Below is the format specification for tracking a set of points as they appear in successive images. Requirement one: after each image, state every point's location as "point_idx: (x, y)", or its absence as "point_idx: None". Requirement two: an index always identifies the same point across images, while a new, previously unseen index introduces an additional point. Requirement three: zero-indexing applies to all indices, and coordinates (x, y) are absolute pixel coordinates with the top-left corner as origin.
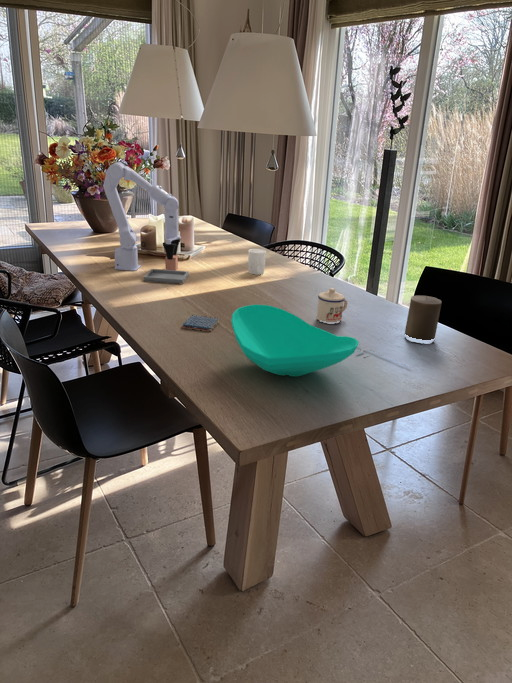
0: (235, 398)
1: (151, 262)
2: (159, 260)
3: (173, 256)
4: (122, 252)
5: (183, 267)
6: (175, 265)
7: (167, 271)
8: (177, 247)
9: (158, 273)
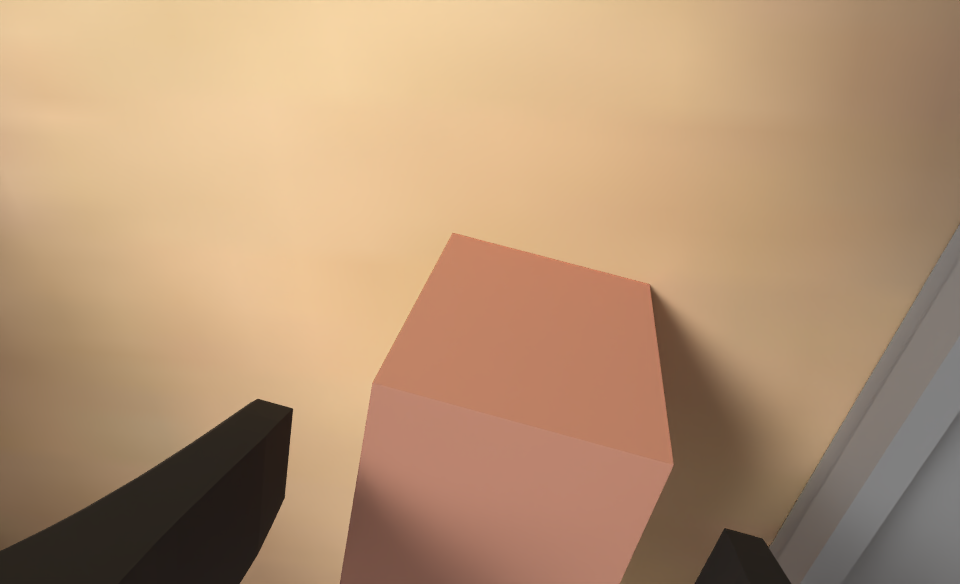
0: None
1: None
2: (9, 459)
3: (491, 493)
4: None
5: (337, 113)
6: (656, 348)
7: (895, 475)
8: (121, 538)
9: (878, 576)
